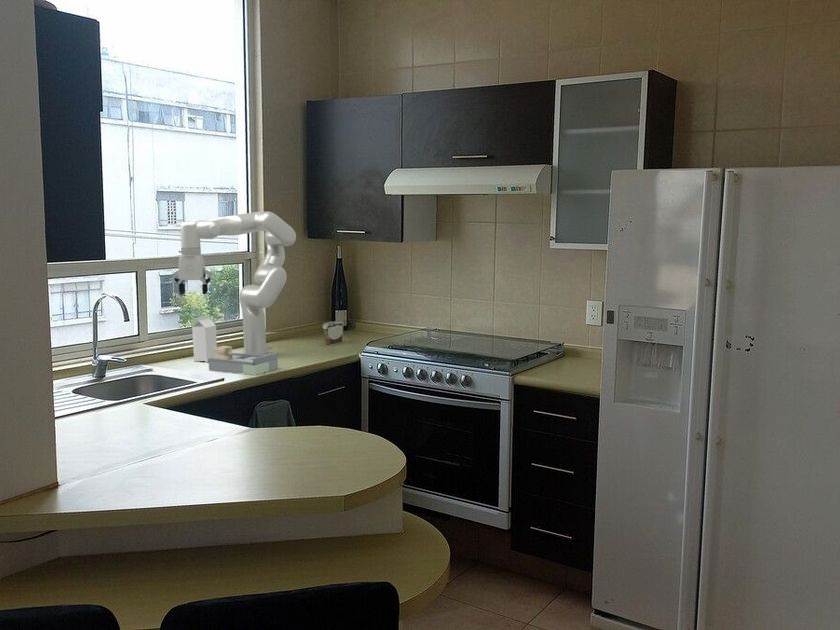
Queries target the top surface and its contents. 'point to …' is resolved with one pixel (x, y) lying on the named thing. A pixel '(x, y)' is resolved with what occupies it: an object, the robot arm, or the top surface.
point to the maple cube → (223, 352)
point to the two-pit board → (245, 363)
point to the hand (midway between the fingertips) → (193, 293)
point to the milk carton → (204, 339)
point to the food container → (333, 332)
